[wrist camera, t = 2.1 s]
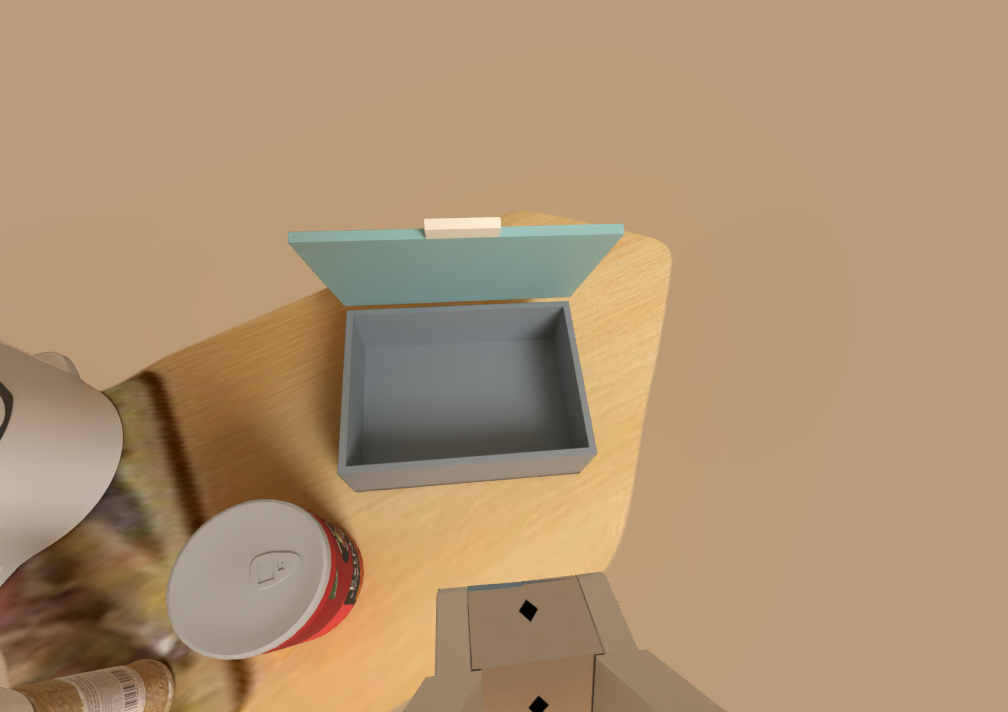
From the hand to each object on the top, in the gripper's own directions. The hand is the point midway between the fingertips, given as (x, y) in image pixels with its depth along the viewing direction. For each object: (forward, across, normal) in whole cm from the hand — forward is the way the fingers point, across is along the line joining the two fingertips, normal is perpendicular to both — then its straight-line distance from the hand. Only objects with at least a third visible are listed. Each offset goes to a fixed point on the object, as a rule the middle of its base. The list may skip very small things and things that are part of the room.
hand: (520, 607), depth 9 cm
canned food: (+22, +12, +19) cm, 32 cm away
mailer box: (+31, 0, +10) cm, 33 cm away
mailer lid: (+26, 0, -2) cm, 26 cm away
